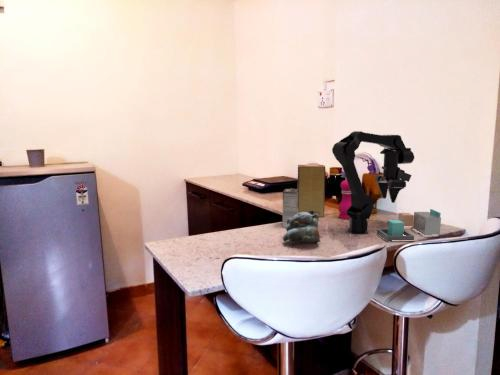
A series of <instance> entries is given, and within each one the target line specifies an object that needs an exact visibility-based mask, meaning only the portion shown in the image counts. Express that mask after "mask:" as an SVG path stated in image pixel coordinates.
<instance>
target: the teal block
mask: <svg viewBox="0 0 500 375" xmlns="http://www.w3.org/2000/svg"><path fill="white" fill-rule="evenodd" d="M386 229H387V235H388V236H403V234H404V230H405V229H404V223H403V222H402V221H400V220H398V219H392V220H391V219H389V220H387V228H386Z"/></svg>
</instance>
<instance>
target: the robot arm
mask: <svg viewBox="0 0 500 375" xmlns="http://www.w3.org/2000/svg"><path fill="white" fill-rule="evenodd" d="M361 143H367V144H374V145H375V144H376V145H378V146H380V147H383V149H382V150H380V154H381V155H383V166H381V170H382V169H383V170H382V174H377V175H375V177H374V178H375V179H374V181H375V183H376V185H377V187H378V189H379V192H380V194H381V196H382V199H386V198H387V195H388V194H389V198H390V201H391V203H392V204H393V203H396V200H397V198H398V195H399V193H400V192H401V190H403V189H405V188H406V187H407V183H409V182H410V180H411V178H412V174H410V173H407V172H406V171H405V170H403V169H401V167H400V166H399V165H405V164H407V165H408V164H412V163H413V162H414V160H415V154H414V152H413V151H412V148H411V147H406V145H405V143H404V141H403V139H402V136H401V135H399V134H376V133H370V132H363V131H361V130H358V131H357V130H353V131H352V132H350V134H349V135H346V136H344V138H343V137H342V139H340V140H339V141H338V142H336V143H334V144H333V146H332V149H331V150H332V151H331V152H332V155H333V156H334V158H335V159H336V161H337V162H338V163H339V164H340V165H341V167H342V170H343V173H344V175H345V178H346V179H347V182H348V185H349V188H350V191H351V193H352V194H351V206H350V207H349V209H348V210H347V211H346V212H347V216H350V219H349V224H348V225H349V226H348V228H347V230H348V231H349V232H350V234H357V235H358V234H368V227H369V225H368V223H369V222H368V221H369V220H370V218H371V215H372V212H373V209H374V204H375V203H374V202H373V198H372V195H371V194H368V193H365V192H364V188H363V185H362V182H361V180H360V176H359V172H358V170H357V167H356V163H355V158H356V152H355V151H357V150H358V149H359V147H360V145H361ZM346 179H345V180H346Z"/></svg>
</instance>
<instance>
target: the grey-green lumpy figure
mask: <svg viewBox="0 0 500 375" xmlns="http://www.w3.org/2000/svg"><path fill="white" fill-rule="evenodd" d="M319 218H320V217H319V216H318V214H314V211H309V212H300V213H297V214H295V215H294V216H293V217H292V218H289V219H288V220H287V226H286V228H285V231H286V232H285V234H284V235H283V236H282V239H283V244H284V245H290V244H297V243H313V244H318V243H321V236H320V233H319V220H320V219H319Z"/></svg>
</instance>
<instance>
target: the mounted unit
mask: <svg viewBox="0 0 500 375" xmlns="http://www.w3.org/2000/svg"><path fill="white" fill-rule="evenodd" d="M413 215H414V217H413V228H414V229H416V230H417V231H419V232H421V233H422V234H424V235H432V234H441V225H442V224H441V223H442V217H441V212H439V211H437V210H435V209H431V208H430V209H429V211H414V212H413Z"/></svg>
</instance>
